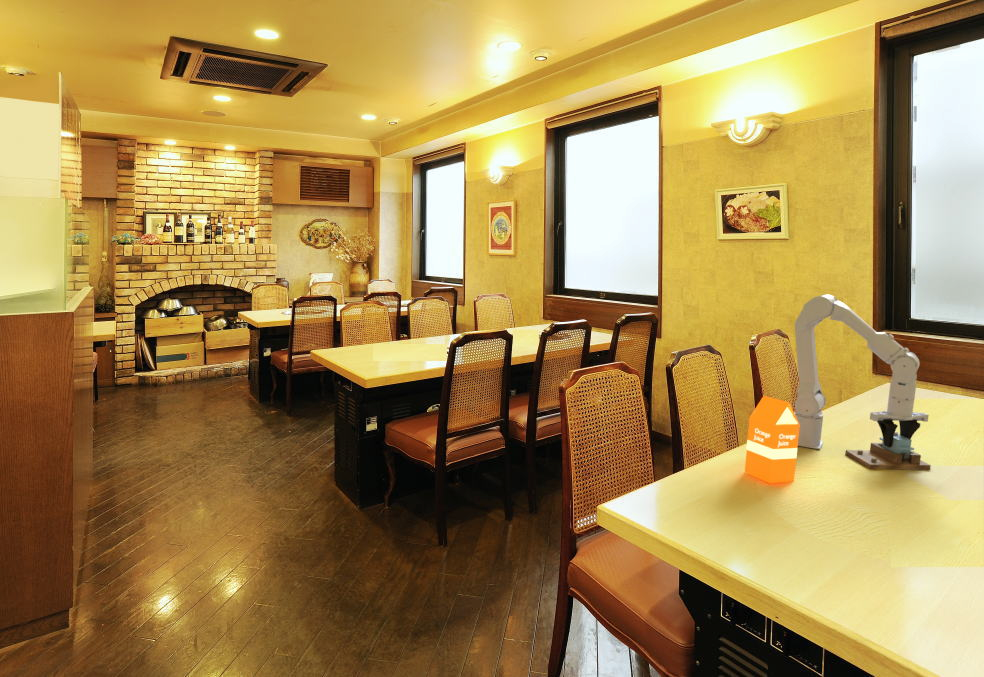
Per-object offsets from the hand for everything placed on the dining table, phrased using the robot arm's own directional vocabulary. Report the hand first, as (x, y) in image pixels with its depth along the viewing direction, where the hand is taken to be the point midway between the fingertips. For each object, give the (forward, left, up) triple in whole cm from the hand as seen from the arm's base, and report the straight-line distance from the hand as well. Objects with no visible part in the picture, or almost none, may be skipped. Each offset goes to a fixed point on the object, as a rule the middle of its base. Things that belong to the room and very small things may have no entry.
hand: (895, 446), depth 163 cm
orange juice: (-26, -32, -5) cm, 41 cm away
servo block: (0, 0, -2) cm, 2 cm away
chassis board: (-2, -1, -4) cm, 5 cm away
